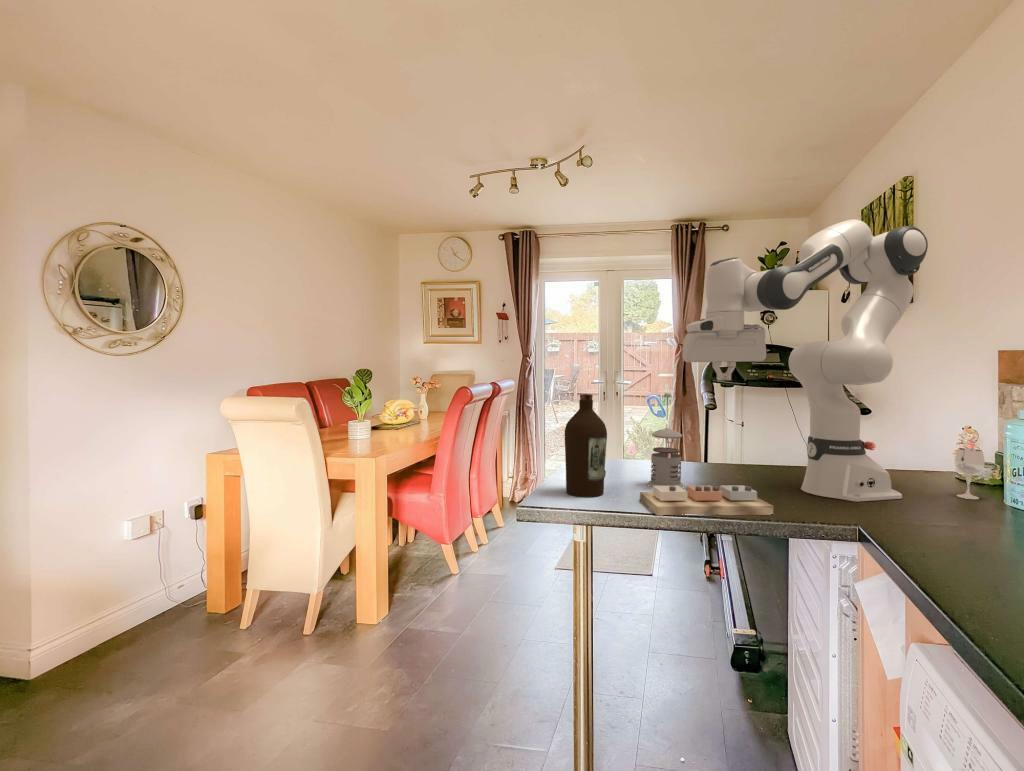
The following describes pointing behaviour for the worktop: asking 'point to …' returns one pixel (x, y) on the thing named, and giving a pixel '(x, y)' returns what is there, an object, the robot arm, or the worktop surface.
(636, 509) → the worktop surface
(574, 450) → the olive oil
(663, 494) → the tile one
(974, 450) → the wineglass
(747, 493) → the tile two
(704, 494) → the tile three
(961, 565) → the worktop surface
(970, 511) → the worktop surface
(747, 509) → the button board
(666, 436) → the french press
